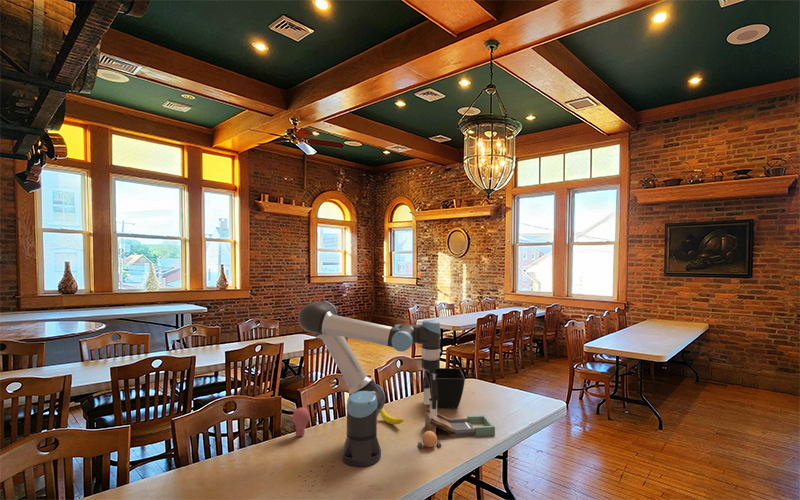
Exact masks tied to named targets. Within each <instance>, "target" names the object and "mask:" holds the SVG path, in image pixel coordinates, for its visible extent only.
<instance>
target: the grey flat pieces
mask: <svg viewBox="0 0 800 500" xmlns="http://www.w3.org/2000/svg"><path fill="white" fill-rule="evenodd" d="M417 443H418V444H417V446H418V448H419V449H423V442H421V441H418V442H417ZM436 445H437V447H438V449H439V448H440V449H441V448H442V443H441V441H439V440H437V442H436Z"/></svg>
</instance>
